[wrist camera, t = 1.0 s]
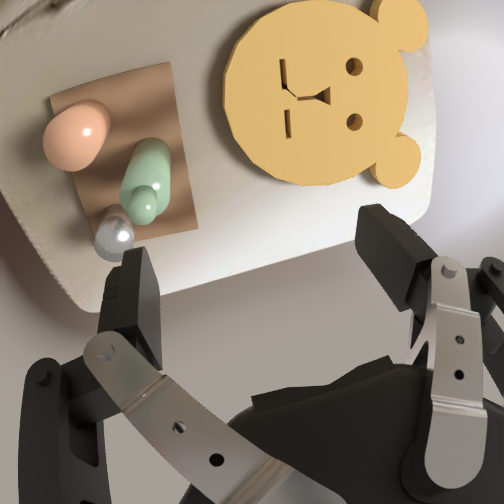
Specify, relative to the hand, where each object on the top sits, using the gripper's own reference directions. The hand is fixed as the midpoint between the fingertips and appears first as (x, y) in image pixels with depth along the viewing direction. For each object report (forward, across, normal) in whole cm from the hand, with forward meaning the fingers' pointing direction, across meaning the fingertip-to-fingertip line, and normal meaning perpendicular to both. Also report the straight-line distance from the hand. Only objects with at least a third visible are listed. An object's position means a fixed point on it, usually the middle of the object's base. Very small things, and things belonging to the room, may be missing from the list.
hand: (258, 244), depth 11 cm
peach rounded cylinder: (+28, +14, -1) cm, 32 cm away
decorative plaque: (+31, -18, 0) cm, 35 cm away
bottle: (+29, +7, +5) cm, 30 cm away
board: (+30, +10, +6) cm, 32 cm away
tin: (+29, +13, +13) cm, 34 cm away
